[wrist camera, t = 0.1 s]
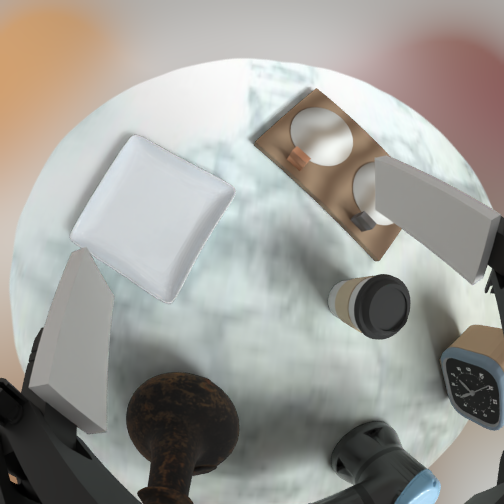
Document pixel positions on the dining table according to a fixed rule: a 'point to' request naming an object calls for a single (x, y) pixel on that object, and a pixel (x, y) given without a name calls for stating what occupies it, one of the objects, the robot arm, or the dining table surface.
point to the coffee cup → (371, 304)
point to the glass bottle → (180, 432)
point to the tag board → (332, 167)
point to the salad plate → (152, 216)
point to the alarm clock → (476, 375)
